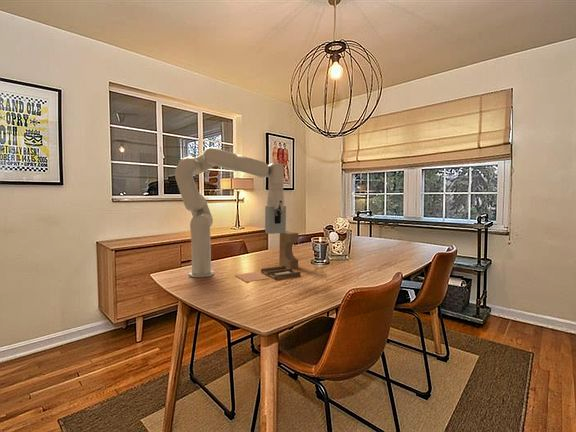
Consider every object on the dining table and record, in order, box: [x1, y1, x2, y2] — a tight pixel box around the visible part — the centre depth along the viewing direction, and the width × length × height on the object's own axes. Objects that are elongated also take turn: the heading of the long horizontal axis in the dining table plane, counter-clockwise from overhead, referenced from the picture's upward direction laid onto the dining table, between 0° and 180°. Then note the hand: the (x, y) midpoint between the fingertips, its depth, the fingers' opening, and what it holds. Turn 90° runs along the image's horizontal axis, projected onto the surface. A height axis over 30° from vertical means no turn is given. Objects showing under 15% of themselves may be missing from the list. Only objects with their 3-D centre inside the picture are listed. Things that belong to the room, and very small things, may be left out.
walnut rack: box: [260, 265, 301, 281], centre depth 165 cm, size 15×15×2 cm
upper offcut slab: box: [273, 271, 291, 276], centre depth 162 cm, size 5×9×1 cm, turn 124°
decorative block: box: [278, 230, 299, 270], centre depth 182 cm, size 11×6×20 cm, turn 38°
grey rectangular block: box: [264, 205, 287, 235], centre depth 166 cm, size 4×10×14 cm, turn 122°
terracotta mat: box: [234, 271, 270, 284], centre depth 160 cm, size 14×12×1 cm
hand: (275, 222), depth 166 cm, fingers closed on grey rectangular block, 4 cm apart
